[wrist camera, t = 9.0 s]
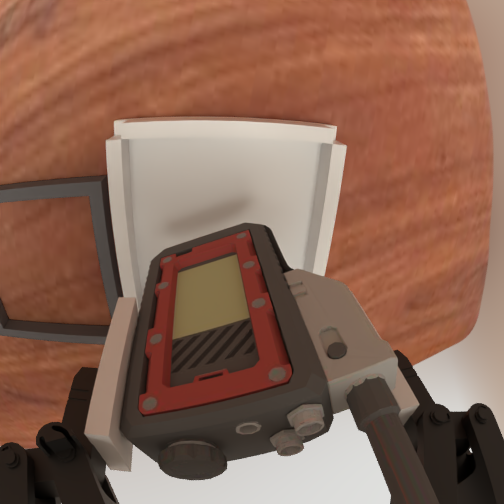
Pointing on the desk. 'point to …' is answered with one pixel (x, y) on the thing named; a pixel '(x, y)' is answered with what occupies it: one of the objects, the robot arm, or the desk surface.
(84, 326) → the grey square frame
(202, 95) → the desk surface
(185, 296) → the walkie-talkie
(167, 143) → the dock
